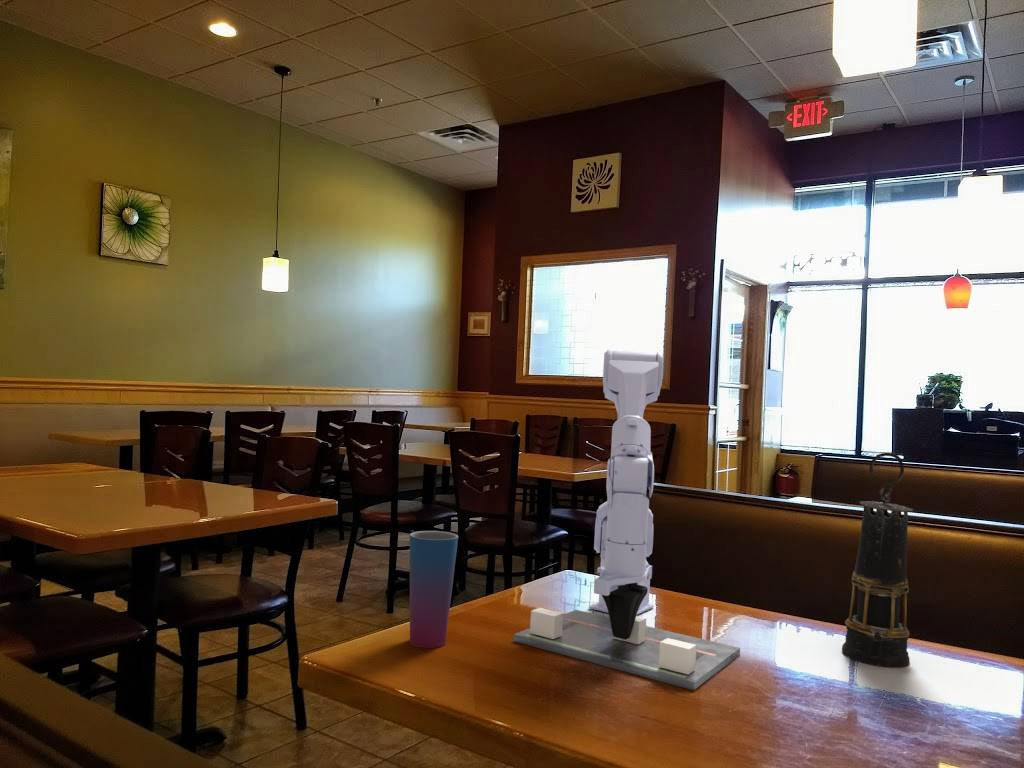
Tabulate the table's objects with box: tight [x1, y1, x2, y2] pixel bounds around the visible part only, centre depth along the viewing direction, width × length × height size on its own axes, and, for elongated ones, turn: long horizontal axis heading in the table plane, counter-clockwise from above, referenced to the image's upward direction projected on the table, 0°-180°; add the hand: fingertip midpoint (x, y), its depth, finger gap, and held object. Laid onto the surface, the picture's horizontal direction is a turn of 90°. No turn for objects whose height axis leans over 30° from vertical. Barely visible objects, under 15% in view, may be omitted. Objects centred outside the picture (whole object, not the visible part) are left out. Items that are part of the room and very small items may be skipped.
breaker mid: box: [613, 615, 647, 644], centre depth 110 cm, size 2×4×3 cm, turn 56°
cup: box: [409, 530, 459, 649], centre depth 107 cm, size 7×7×15 cm
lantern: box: [841, 452, 914, 669], centre depth 112 cm, size 9×9×30 cm
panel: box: [513, 609, 741, 691], centre depth 109 cm, size 18×27×1 cm, turn 56°
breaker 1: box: [529, 607, 564, 639], centre depth 110 cm, size 2×4×3 cm, turn 56°
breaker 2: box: [659, 638, 696, 675], centre depth 98 cm, size 2×4×3 cm, turn 56°
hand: (621, 637), depth 107 cm, fingers closed
